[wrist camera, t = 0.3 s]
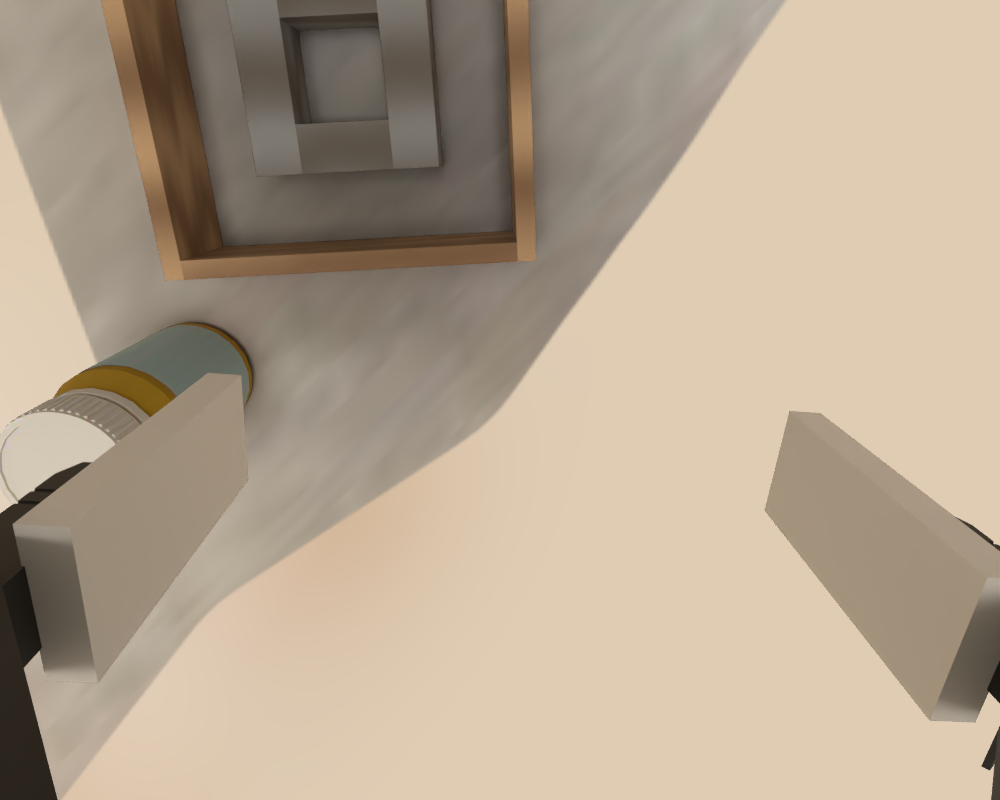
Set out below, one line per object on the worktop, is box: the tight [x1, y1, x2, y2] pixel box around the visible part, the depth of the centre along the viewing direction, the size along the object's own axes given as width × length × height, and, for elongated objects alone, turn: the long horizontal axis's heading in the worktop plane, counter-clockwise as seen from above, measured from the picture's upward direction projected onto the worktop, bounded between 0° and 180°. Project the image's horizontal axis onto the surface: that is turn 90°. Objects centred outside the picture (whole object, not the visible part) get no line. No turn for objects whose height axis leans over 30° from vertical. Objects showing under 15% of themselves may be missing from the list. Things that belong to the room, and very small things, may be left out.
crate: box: [101, 0, 536, 281], centre depth 34 cm, size 20×20×6 cm
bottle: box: [0, 323, 252, 505], centre depth 36 cm, size 7×7×15 cm
